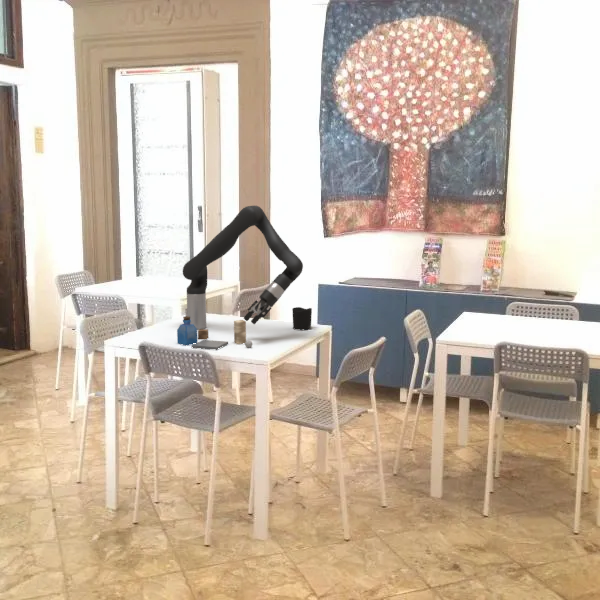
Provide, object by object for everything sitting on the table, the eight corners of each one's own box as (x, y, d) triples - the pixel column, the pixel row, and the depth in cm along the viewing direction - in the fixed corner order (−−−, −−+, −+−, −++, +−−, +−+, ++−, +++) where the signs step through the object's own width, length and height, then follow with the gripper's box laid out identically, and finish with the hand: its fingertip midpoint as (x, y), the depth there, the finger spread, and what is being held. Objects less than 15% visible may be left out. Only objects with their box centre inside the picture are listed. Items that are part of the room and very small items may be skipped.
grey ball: (243, 347, 317) (243, 340, 317) (246, 346, 320) (246, 339, 320) (250, 348, 316) (250, 341, 316) (253, 346, 319) (253, 339, 319)
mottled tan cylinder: (237, 344, 325) (237, 322, 323) (234, 342, 328) (234, 320, 326) (246, 343, 326) (245, 321, 325) (242, 341, 330) (242, 319, 328)
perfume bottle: (188, 341, 331) (187, 315, 329) (197, 343, 327) (196, 316, 325) (177, 343, 326) (176, 317, 324) (186, 345, 322) (185, 318, 320)
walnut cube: (198, 339, 335) (197, 330, 335) (199, 337, 339) (199, 329, 339) (206, 339, 335) (206, 331, 334) (208, 337, 339) (208, 329, 338)
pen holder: (297, 331, 354) (297, 310, 352) (289, 327, 362) (289, 307, 360) (314, 329, 358) (315, 309, 356) (306, 326, 366) (306, 306, 364)
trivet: (191, 348, 317) (191, 345, 317) (203, 342, 328) (203, 339, 328) (216, 350, 313) (216, 347, 313) (228, 344, 325) (228, 341, 324)
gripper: (260, 286, 336) (237, 313, 332) (273, 290, 323) (249, 318, 320) (270, 297, 339) (248, 324, 336) (284, 301, 326) (260, 329, 323)
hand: (248, 321), depth 328 cm, fingers open, 8 cm apart
